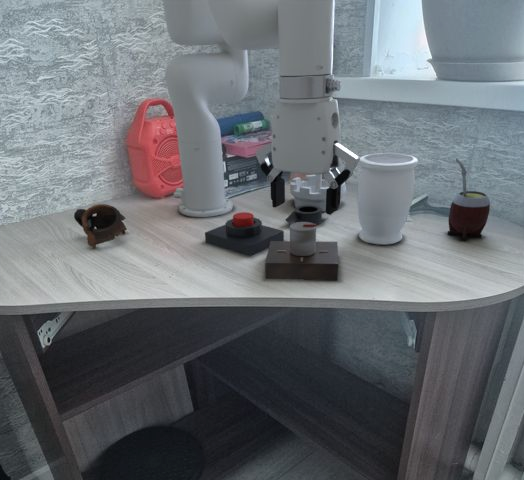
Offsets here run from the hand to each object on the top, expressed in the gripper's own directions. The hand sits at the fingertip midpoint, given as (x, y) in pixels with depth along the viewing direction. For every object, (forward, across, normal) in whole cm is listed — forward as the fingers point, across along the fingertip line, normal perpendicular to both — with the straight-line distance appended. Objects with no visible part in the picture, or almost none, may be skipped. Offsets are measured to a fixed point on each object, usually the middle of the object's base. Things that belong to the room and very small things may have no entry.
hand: (304, 208), depth 78 cm
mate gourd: (+11, -21, -28) cm, 37 cm away
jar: (+11, -7, -20) cm, 24 cm away
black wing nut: (+10, +10, -22) cm, 27 cm away
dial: (+7, 0, 0) cm, 7 cm away
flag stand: (+10, +14, -35) cm, 39 cm away
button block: (+10, +16, -6) cm, 20 cm away
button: (+7, +16, -6) cm, 19 cm away
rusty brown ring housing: (+10, +43, +6) cm, 45 cm away
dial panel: (+10, 0, 0) cm, 11 cm away
